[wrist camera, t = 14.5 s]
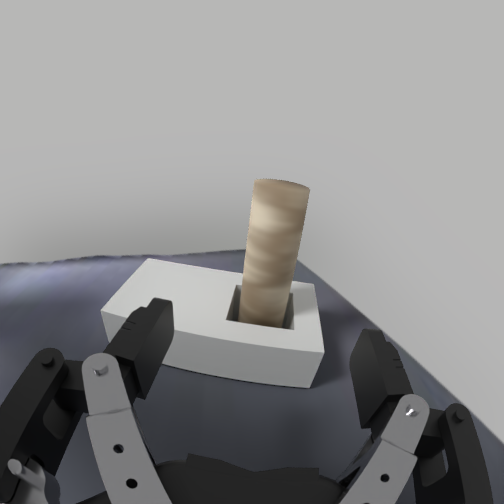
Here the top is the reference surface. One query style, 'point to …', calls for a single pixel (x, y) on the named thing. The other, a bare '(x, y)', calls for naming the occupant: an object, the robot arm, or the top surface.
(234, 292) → the hole block
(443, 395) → the top surface
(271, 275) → the birch peg
